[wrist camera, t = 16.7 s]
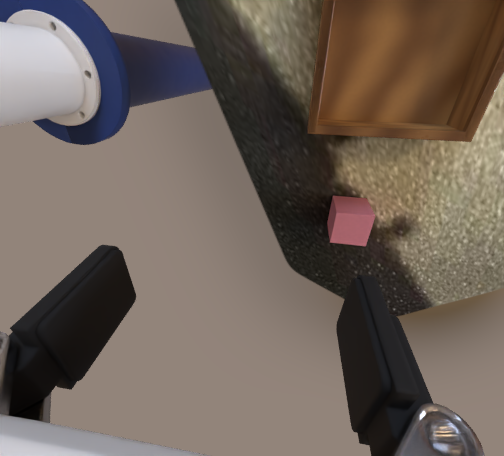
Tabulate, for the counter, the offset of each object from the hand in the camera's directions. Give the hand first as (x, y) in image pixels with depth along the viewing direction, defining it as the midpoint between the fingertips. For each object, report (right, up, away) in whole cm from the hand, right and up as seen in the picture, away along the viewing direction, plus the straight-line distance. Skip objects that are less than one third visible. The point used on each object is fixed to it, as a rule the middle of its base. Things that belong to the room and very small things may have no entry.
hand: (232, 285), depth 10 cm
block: (+14, +5, +25) cm, 29 cm away
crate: (+15, +20, +15) cm, 29 cm away
